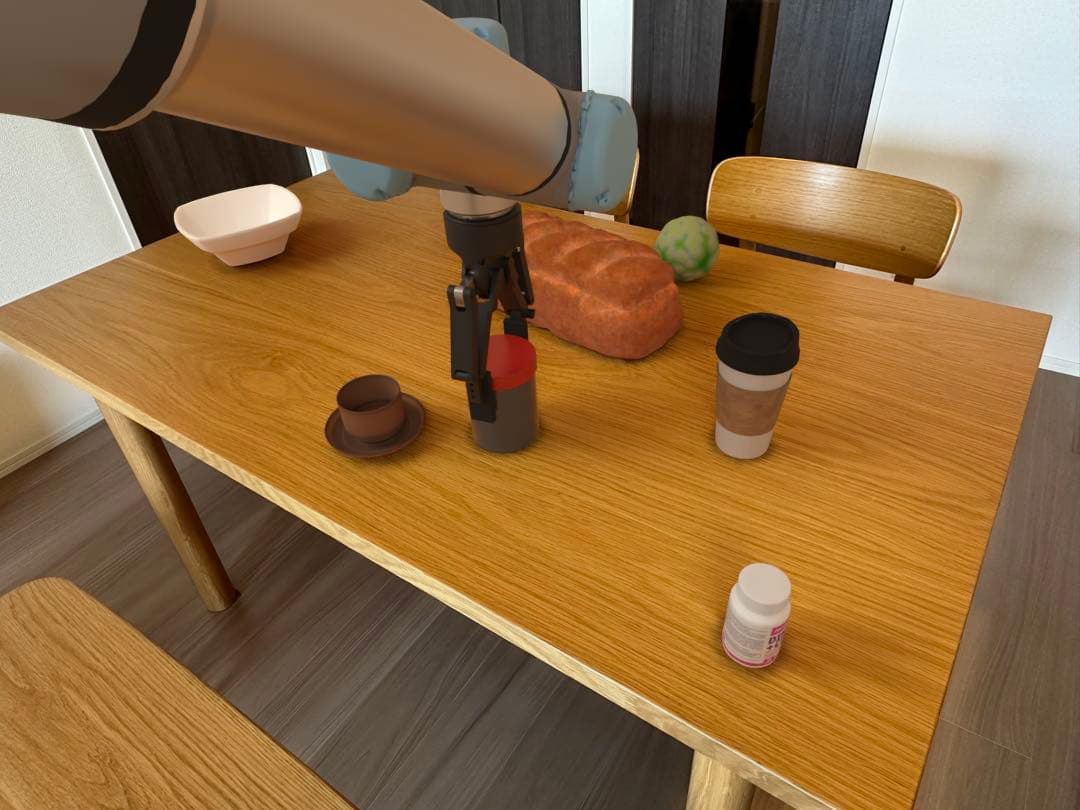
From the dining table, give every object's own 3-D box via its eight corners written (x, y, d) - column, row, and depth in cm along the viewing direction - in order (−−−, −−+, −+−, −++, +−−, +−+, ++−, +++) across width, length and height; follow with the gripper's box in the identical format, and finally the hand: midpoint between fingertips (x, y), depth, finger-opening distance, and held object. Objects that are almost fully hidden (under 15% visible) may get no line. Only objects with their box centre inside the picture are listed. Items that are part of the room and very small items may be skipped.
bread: (537, 263, 117) (533, 187, 109) (695, 323, 100) (704, 239, 92) (469, 299, 109) (458, 220, 101) (628, 373, 91) (631, 284, 83)
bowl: (206, 293, 115) (188, 245, 110) (182, 250, 129) (164, 206, 124) (326, 257, 123) (314, 211, 118) (291, 221, 137) (278, 178, 132)
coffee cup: (796, 448, 78) (823, 335, 69) (739, 477, 75) (759, 363, 66) (743, 410, 84) (761, 301, 75) (688, 435, 81) (700, 325, 71)
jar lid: (500, 401, 73) (498, 387, 72) (445, 373, 77) (442, 359, 76) (552, 363, 78) (551, 350, 77) (497, 339, 82) (496, 326, 81)
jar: (507, 462, 79) (499, 388, 72) (458, 434, 83) (447, 362, 77) (552, 426, 83) (549, 354, 77) (504, 402, 88) (496, 331, 81)
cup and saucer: (308, 439, 84) (294, 399, 80) (384, 391, 91) (375, 352, 87) (371, 481, 77) (359, 440, 74) (448, 426, 84) (441, 385, 81)
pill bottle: (773, 678, 57) (790, 617, 51) (715, 657, 58) (726, 596, 53) (783, 631, 60) (801, 569, 55) (728, 613, 62) (740, 551, 57)
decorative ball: (695, 299, 105) (702, 237, 99) (641, 281, 110) (643, 221, 104) (728, 274, 111) (735, 214, 105) (674, 258, 116) (678, 200, 110)
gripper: (466, 261, 57) (493, 462, 70) (558, 167, 73) (564, 345, 87) (387, 251, 59) (427, 447, 73) (492, 161, 75) (509, 336, 89)
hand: (502, 391), depth 80 cm, fingers open, 10 cm apart
